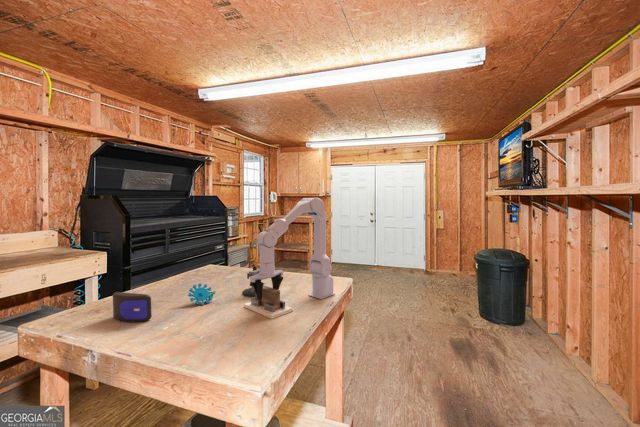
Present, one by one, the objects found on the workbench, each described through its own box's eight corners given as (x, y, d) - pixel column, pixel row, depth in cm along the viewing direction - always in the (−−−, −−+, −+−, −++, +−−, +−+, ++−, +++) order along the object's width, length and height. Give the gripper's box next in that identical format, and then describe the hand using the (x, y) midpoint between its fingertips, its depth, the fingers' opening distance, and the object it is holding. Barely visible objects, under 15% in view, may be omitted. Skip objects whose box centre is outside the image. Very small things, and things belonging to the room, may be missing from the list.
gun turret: (283, 287, 144) (282, 261, 144) (257, 299, 126) (257, 269, 126) (262, 284, 150) (261, 259, 149) (235, 295, 132) (234, 267, 131)
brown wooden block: (263, 301, 120) (262, 284, 120) (281, 308, 112) (281, 290, 112) (255, 303, 117) (255, 286, 117) (274, 310, 109) (274, 292, 109)
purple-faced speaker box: (105, 320, 104) (104, 294, 104) (116, 315, 109) (116, 290, 108) (142, 325, 100) (141, 298, 100) (152, 319, 105) (152, 293, 104)
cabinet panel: (264, 300, 124) (264, 297, 124) (292, 311, 112) (292, 308, 112) (244, 306, 117) (243, 303, 117) (271, 318, 105) (271, 315, 104)
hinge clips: (263, 300, 121) (263, 294, 121) (285, 308, 112) (285, 301, 112) (251, 303, 117) (250, 297, 117) (272, 312, 107) (272, 306, 107)
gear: (189, 304, 116) (188, 282, 122) (186, 312, 119) (184, 290, 125) (217, 302, 122) (214, 282, 128) (213, 309, 125) (211, 289, 131)
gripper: (275, 258, 122) (275, 290, 122) (245, 263, 111) (245, 298, 112) (286, 260, 117) (286, 293, 117) (255, 266, 106) (256, 303, 107)
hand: (267, 296), depth 114 cm, fingers open, 7 cm apart
